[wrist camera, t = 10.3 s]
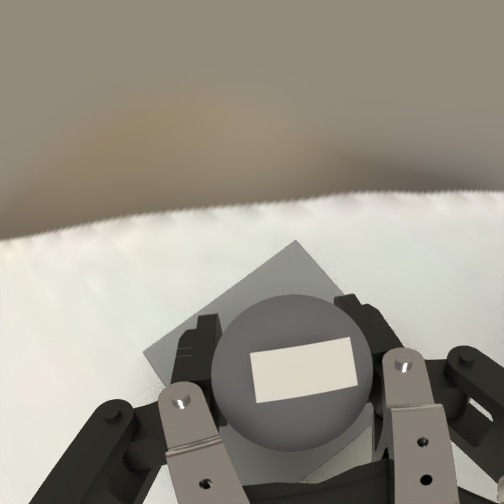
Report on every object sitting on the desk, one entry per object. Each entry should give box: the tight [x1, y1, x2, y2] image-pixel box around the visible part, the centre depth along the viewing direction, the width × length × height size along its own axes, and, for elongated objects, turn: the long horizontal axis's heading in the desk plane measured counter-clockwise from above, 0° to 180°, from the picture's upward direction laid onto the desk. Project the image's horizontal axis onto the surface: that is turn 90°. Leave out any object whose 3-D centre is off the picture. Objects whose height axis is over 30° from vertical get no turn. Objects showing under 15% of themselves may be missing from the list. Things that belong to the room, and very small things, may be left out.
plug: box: [211, 294, 373, 452], centre depth 11 cm, size 4×4×10 cm
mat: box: [143, 240, 373, 486], centre depth 18 cm, size 12×12×1 cm
